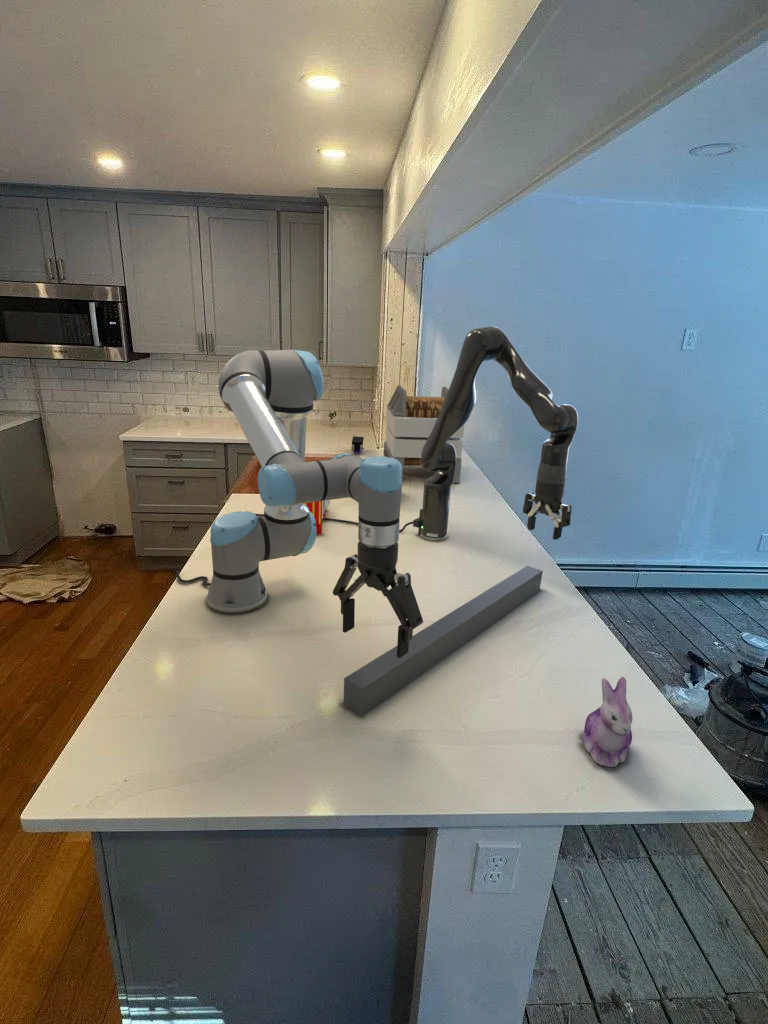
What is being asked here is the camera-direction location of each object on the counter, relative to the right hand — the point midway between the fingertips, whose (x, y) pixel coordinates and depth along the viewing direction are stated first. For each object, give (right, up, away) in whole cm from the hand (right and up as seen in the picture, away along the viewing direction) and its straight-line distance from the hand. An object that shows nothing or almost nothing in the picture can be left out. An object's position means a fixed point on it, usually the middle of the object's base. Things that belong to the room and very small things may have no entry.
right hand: (543, 534), depth 160 cm
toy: (-72, +3, +49) cm, 87 cm away
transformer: (-28, +25, +115) cm, 121 cm away
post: (-26, -24, -21) cm, 42 cm away
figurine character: (-59, +39, +149) cm, 165 cm away
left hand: (-47, -19, -48) cm, 70 cm away
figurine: (-4, -38, -55) cm, 67 cm away
